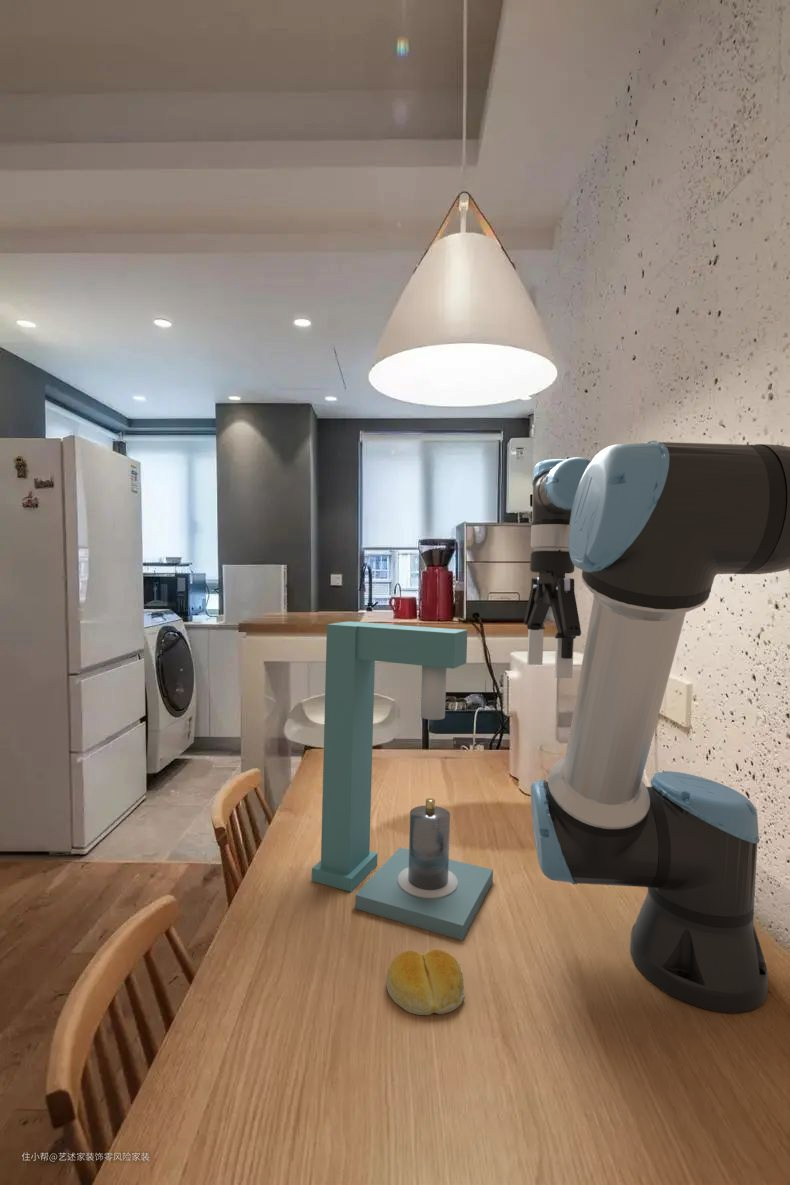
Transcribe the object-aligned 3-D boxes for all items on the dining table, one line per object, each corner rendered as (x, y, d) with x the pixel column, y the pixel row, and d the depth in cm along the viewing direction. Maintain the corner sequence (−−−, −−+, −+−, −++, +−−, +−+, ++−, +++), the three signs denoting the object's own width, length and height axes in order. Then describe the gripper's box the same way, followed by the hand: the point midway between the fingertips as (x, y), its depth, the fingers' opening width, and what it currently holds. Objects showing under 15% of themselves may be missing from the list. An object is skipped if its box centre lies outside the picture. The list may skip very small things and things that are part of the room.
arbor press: (492, 882, 90) (501, 629, 89) (462, 940, 76) (472, 638, 74) (349, 846, 101) (356, 619, 99) (299, 891, 86) (305, 626, 85)
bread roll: (384, 968, 70) (385, 936, 70) (457, 967, 71) (458, 936, 71) (387, 1021, 62) (388, 985, 62) (469, 1019, 62) (471, 984, 62)
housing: (451, 889, 83) (453, 808, 83) (410, 890, 83) (412, 807, 83) (444, 869, 89) (447, 792, 89) (406, 869, 89) (408, 792, 89)
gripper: (606, 548, 89) (601, 684, 89) (547, 553, 114) (543, 660, 114) (560, 546, 88) (554, 684, 89) (510, 552, 113) (506, 659, 113)
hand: (548, 670), depth 101 cm, fingers open, 13 cm apart
